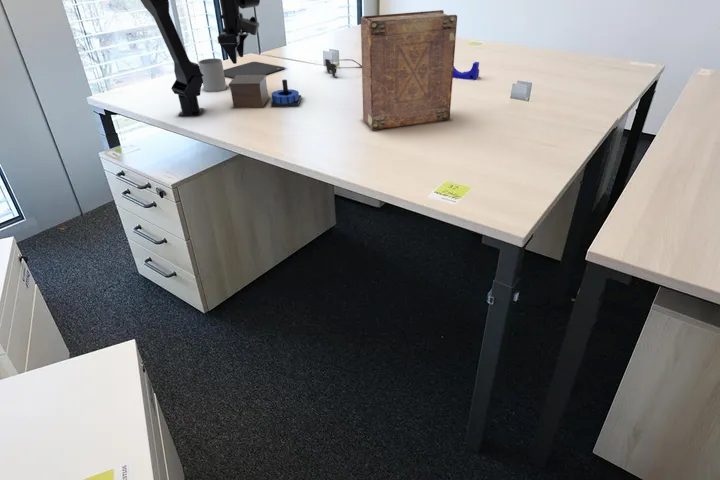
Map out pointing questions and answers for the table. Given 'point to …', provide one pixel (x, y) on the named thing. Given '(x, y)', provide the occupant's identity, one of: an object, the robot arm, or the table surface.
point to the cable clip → (468, 73)
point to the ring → (285, 96)
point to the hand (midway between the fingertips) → (238, 60)
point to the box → (249, 91)
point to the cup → (212, 74)
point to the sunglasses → (334, 67)
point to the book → (407, 68)
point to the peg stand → (285, 90)
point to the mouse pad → (252, 69)
